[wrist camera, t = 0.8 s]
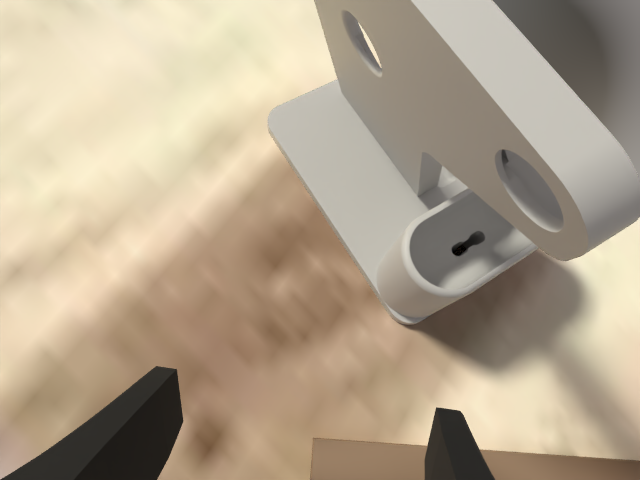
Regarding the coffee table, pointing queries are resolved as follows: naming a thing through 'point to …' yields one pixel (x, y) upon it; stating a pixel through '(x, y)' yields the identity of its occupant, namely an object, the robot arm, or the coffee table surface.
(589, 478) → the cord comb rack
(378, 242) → the phone holder
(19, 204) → the coffee table surface
